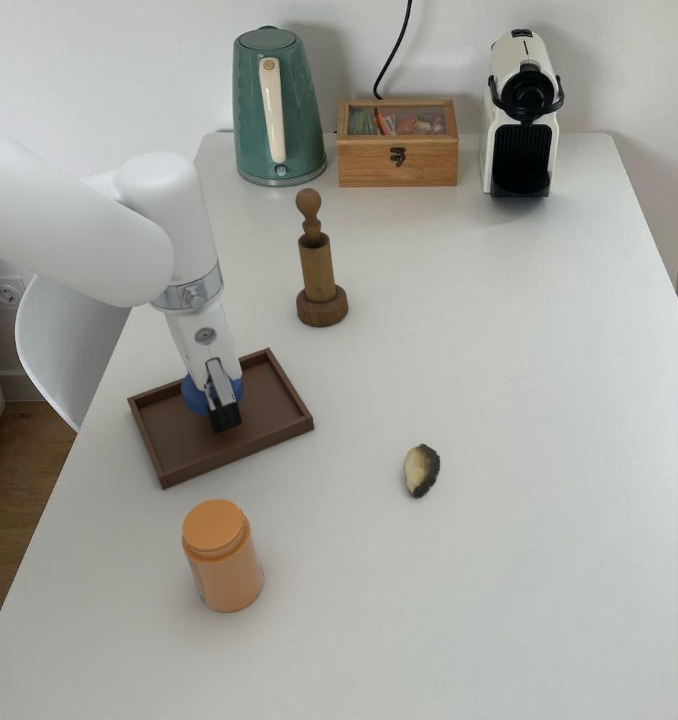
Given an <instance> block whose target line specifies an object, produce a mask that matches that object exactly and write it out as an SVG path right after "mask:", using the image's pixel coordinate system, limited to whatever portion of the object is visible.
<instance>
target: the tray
mask: <svg viewBox="0 0 678 720" xmlns="http://www.w3.org/2000/svg"><path fill="white" fill-rule="evenodd" d="M238 360H239V363H240V367H241V370H242V376H241V381H242V382H243V387H244V390H243V396H242V399H241V401H240V402H239V403H238V407H239V412H240V416H241V420H242V423H241V424H240V425H238V426H235V427H233V428H230V429H228V430H225V431H222V432H220V433H214V431H213V429H212V426H211V423H210V419H209V416H204V415H199V414H196V413H194V412H192V411H191V410H189V409H188V408H187V406H186V405H185V402H184V398H183V394H182V391H181V384H182V381H183V379H184V378H185V377H182V378H179V379H176V380H173V381H171V382H168V383H165V384H162V385H160V386H157V387H154V388H151V389H148V390H146V391H143V392H141V393H137V394H134V395H132V396H128V397H127V398H126V401H127V403H128V406H129V409H130V411H131V413H132V417H133V419H134V421H135V424H136V426H137V430H138V432H139V435H140V436H141V439H142V441H143V444H144V447H145V449H146V451H147V454H148V457H149V459H150V461H151V464H152V467H153V469H154V472H155V474H156V477H157V479H158V482H159V484H160V487H161V489H162V490H164V491H165V490H166V489H169V488H171V487H174V486H176V485H179V484H181V483H184V482H186V481H189V480H192V479H195V478H196V477H198V476H201V475H204V474H206V473H209V472H211V471H214V470H216V469H219V468H222V467H224V466H227V465H229V464H231V463H233V462H236V461H238V460H241V459H244V458H247V457H248V456H250V455H251V456H252V455H253V454H256V453H259V452H262V451H263V450H266V449H269V448H270V447H274V446H276V445H278V444H280V443H283V442H286V441H288V440H291V439H294V438H296V437H298V436H300V435H304V434H306V433H308V432H310V431H313V430H315V423H314V417H313V415H312V413H311V412H310V410H309V408H308V407H307V405H306V404H305V402H304V401H303V399H302V398H301V396H300V394H299V393H298V391H297V390H296V388H295V386H294V385H293V383H292V382H291V380H290V378H289V377H288V375H287V374H286V372H285V370H284V369H283V367H282V366H281V364H280V362H279V361H278V359H277V357H276V356H275V354H274V352H273V351H272V349H271V348H270V347H265V348H262V349H260V350H257V351H254V352H251V353H249V354H245V355H243V356H241V357H238Z"/></svg>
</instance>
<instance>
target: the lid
mask: <svg viewBox="0 0 678 720" xmlns="http://www.w3.org/2000/svg"><path fill="white" fill-rule="evenodd" d="M228 377H229V376H228ZM183 378H184V379H183V381H182V384H181V391H182V394H183V398H184V402H185V405H186V406H187V408H188V409H189V410H191V411H192V412H194V413H196V414H199V415H204V416H209V415H208V412H207V408H206V406H207V405H208V402H207V399H206V396H205V393H204V391H201V390H199V389H198V388H197V387H196V385H195V383H194V381H193V379H192V377H191V375H190V373H188V372H187V374H186V375H185V376H184V377H183ZM210 379H211V377H210V375H208V380H210ZM229 380H230V383H231V386H232V389H233V393H234V395H235V397H236V399H237V403H239V402H240V401H241V399H242V396H243V390H244V387H243V382H242V381H241V378H240V379H237V380H234V381H233V380H232V379H231V378H230V377H229ZM210 392H211V395H212V398H215V397H217V393H216V390H215V388H214V387H213V388H210Z"/></svg>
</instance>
